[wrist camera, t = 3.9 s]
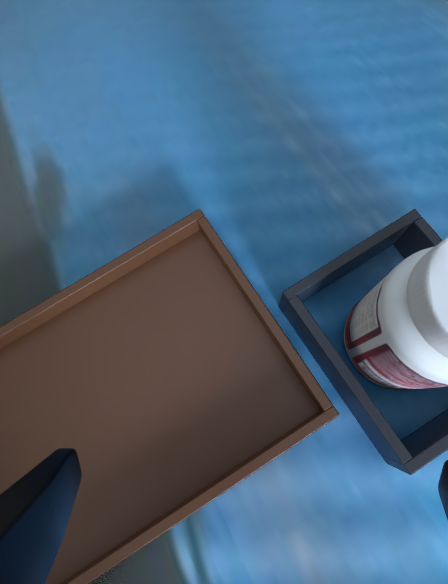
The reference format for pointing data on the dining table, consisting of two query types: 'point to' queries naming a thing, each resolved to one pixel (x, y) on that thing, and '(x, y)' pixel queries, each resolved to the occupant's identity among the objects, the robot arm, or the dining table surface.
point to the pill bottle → (404, 324)
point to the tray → (151, 392)
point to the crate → (400, 454)
